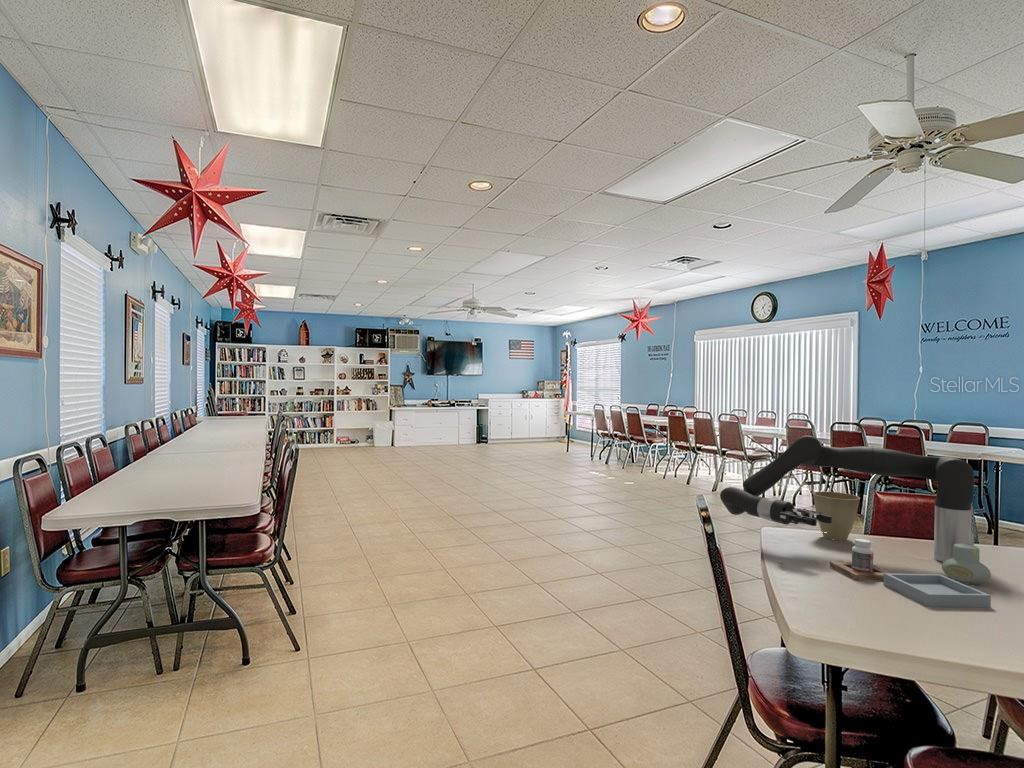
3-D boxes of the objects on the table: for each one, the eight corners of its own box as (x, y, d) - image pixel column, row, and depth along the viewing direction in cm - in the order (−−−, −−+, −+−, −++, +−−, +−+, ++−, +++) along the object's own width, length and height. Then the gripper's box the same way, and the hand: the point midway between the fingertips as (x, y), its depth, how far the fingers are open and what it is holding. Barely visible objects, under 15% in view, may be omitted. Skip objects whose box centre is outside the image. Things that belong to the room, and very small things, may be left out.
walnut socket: (868, 567, 170) (868, 562, 170) (896, 580, 158) (896, 575, 158) (829, 566, 169) (829, 561, 169) (855, 580, 157) (855, 574, 157)
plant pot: (804, 536, 205) (805, 493, 206) (823, 531, 214) (823, 490, 215) (848, 546, 194) (849, 500, 194) (866, 540, 203) (866, 496, 203)
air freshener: (995, 584, 157) (996, 549, 157) (983, 589, 153) (983, 552, 153) (949, 573, 166) (950, 539, 166) (936, 577, 162) (937, 543, 162)
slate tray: (939, 585, 155) (939, 574, 155) (990, 607, 139) (990, 595, 139) (883, 584, 155) (883, 573, 155) (928, 606, 139) (928, 594, 139)
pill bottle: (875, 577, 160) (876, 543, 160) (854, 575, 162) (855, 541, 162) (869, 571, 165) (870, 539, 165) (849, 569, 167) (849, 537, 167)
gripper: (763, 500, 183) (811, 511, 170) (788, 497, 191) (836, 507, 177) (762, 523, 183) (810, 535, 170) (787, 519, 191) (835, 531, 177)
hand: (823, 521), depth 173 cm, fingers open, 8 cm apart
